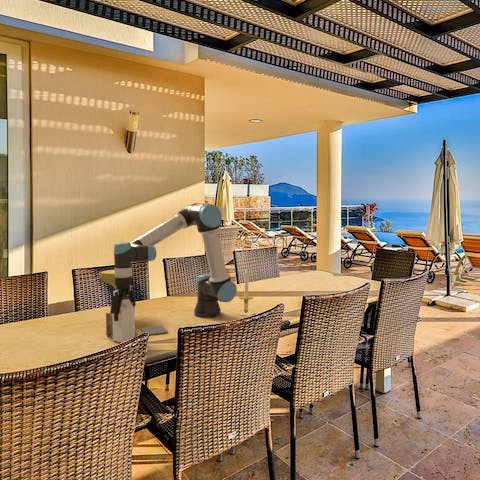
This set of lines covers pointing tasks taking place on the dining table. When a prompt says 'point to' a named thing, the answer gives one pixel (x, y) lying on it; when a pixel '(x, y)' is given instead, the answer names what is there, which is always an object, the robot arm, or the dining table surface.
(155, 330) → the coaster
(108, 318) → the brown upright block
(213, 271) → the robot arm
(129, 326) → the milk carton
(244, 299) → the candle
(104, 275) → the cocktail glass
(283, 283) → the dining table surface
